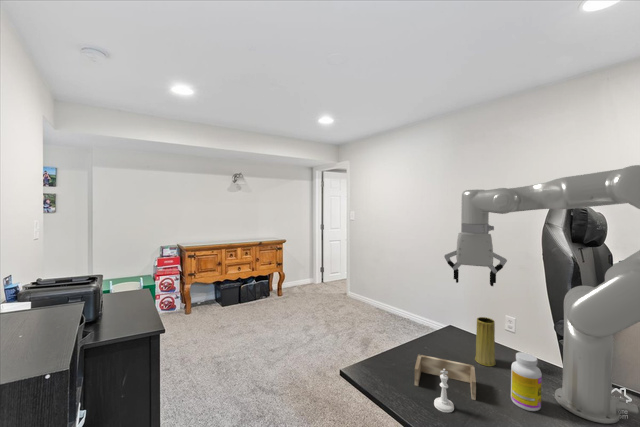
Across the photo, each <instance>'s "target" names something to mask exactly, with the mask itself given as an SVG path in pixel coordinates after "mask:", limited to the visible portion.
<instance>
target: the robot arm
mask: <svg viewBox="0 0 640 427" xmlns="http://www.w3.org/2000/svg"><path fill="white" fill-rule="evenodd" d="M622 204H623V205H624V204H629V205H630V206H632V207H634V208H636V209H638V210H640V164H635V165H629V166H625V167H623V168H618V169H612V170H607V171H606V170H605V171H599V172H598V171H597V172H592V173H586V174H579V175H571V176H564V177H559V178H556V179H553V180H550V181H547V182H543V183H541V182H540V183H537V184H531V185H525V186H519V187H512V188H511V187H509V188H506V187H498V188H493V189H465V190H463V191H462V193H461V221H460V222H461V223H460V224H461V227H460V228H461V231H460V232H459V233H458V236H457V241H456V249H455V250H453V251H452V252H449V253H447V254H444V259H445V261H446V262H447V264H448V266H449V267H450V268H452V270H453V280H455V283H456V284H458V283H459V270H460V269H459V268H460V267H461V266H469V267H470V266H471V267H472V266H473V267H485V268H486V267H487V268H488V269H490V271H489V284H490V286H491V287H494V285H495V284H496V283H497V273H498V272H500V271H501V270H502V269H503V268H504V267H505V265H506V263H507V262H508V259H507V258H505V257H503V256H501V255H499V254H498V253H496V252H494V247H493V237H492V234H491V233H489V232H491V231H494V230H495V226H494V225H490V224H489V222H490V221H489V214H490V213H491V214H492V213H493V214H499V215H505V214H509V213H510V214H511V213H517V212H527V211H537V210H538V211H539V210H571V209H580V208H582V209H583V208H591V207H600V206H601V207H602V206H603V207H604V206H612V205H622ZM455 256H456V262H455V263H454V262H453V261H452V259H451V258H452V257H455ZM494 259H496V260H498V261H499V263H498V264H496V265H495V266H494ZM639 322H640V249H639V250H637V251H636V252H634V253H633V254H631V255H629V256H628V257H626V258H624V259H622V260H620V261H619V262H617V263H615V264H614V265H612V266H611V267H610V268H608V269H607V270H606V272H605V273H604V281H603V282H602V283H600V284H598V285H597V286H595V287H594V286H589V285H578V286H574V287H573V288H571V289H569V290H568V291H567V292H566V294H565V296H564V299H563V347H562V348H563V349H562V350H563V352H562V385H561V386H562V387H559V388H557V389H556V390H555V391H554V398H555V400H556V402H557V403H558V404H559V405H561V407H563V409H564V410H567V411H568V412H570V413H572V414H573V415H575V416H577V417H580V418H582V419H585V420H588V421H592V422H595V423H597V424H598V423H599V424H609V425H610V424H616V423H618V422H619V421H620V419H621V414H620V412H622V411H625V412H628V413H633V414H639V408H638V405H637V404H634V403H630V402H627V401H626V399H625V397H624V398H623V397H620V396H613V394H612V393H613V392H612V390H613V389H612V386H613V385H612V384H613V358H614V357H613V355H614V335H616V334H618V333H621V332H622V331H624V330H627V329H629V328H630V327H632V326H634V325H636V324H637V323H639Z"/></svg>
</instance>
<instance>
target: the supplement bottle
mask: <svg viewBox="0 0 640 427" xmlns="http://www.w3.org/2000/svg"><path fill="white" fill-rule="evenodd" d="M537 365H538V357H536V356H535V355H533V354H532V353H528V352H521V351H520V352H519V351H518V352H516V353H515V361H513V362H512V363H511V367H510V369H511V370H510V372H511V373H510V374H511V375H510V399H511V401H512V403H513V404H515V405H516V406H517V407H519V408H520V409H522V410H525V411H530V412H536V411H539V410H541V408H542V376H543V374H542V371H541V369H540V368H539V367H538V366H537Z"/></svg>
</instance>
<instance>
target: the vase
mask: <svg viewBox="0 0 640 427" xmlns="http://www.w3.org/2000/svg"><path fill="white" fill-rule="evenodd" d="M495 321H496V320H494V319H493V318H490V317H485V316H483V317H482V316H480V317H477V318H476V332H475V333H476V335H475V336H476V337H475V357H474V361H476V363H478V364H480V365H482V366H485V367H493V366H495V365H497V364H496V363H497V362H496V342H495V341H496V340H495V339H496V338H495V334H496V333H495V332H496V330H495V328H496V326H495V325H496V324H495V323H496V322H495Z"/></svg>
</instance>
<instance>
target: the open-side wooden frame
mask: <svg viewBox="0 0 640 427" xmlns="http://www.w3.org/2000/svg"><path fill="white" fill-rule="evenodd" d="M443 369H445V371H447V372H448V374H445V375H447V376H448V379H451V380H455V381H461V382H464V383H470V394H471V400H472V401H473V400H474V401H476V397H477V381H476V380H477V378H476V371H475V365H473V364H469V363H464V362H459V361H453V360H448V359H444V358H439V357H434V356H430V355H429V356H427V355H423V354H420V353H419V354H417V357H416V361H415V366H414V386H416V387H419V383H420V378H421V374H422V373H425V374H429V375H433V376H438V377H440V375H441V374H443V373H441V371H443Z"/></svg>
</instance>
